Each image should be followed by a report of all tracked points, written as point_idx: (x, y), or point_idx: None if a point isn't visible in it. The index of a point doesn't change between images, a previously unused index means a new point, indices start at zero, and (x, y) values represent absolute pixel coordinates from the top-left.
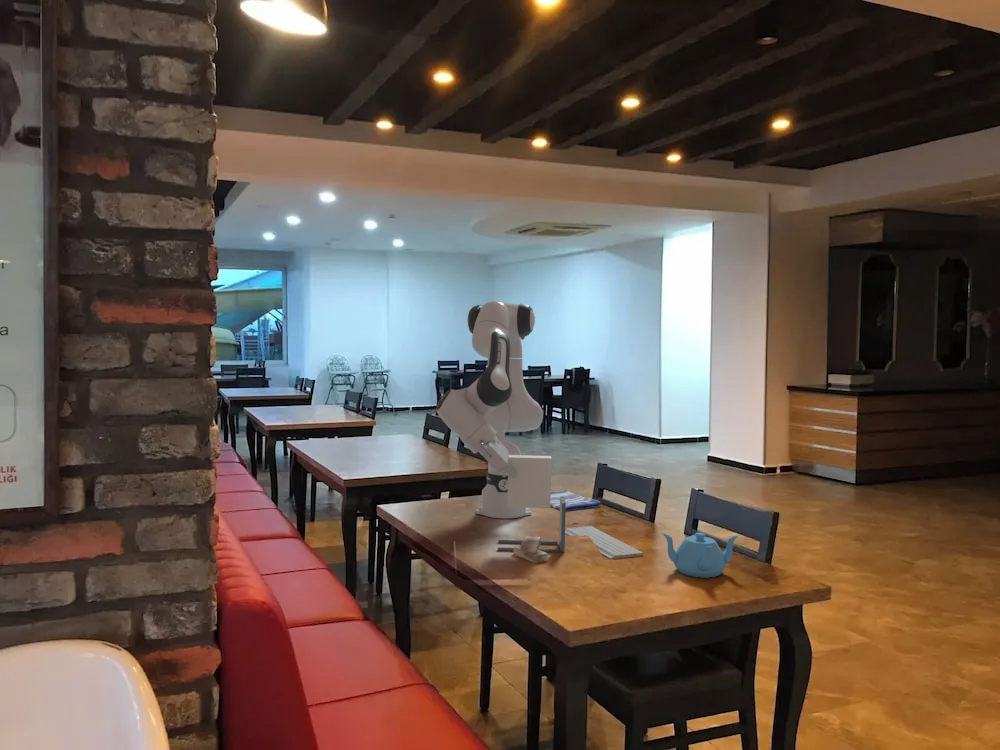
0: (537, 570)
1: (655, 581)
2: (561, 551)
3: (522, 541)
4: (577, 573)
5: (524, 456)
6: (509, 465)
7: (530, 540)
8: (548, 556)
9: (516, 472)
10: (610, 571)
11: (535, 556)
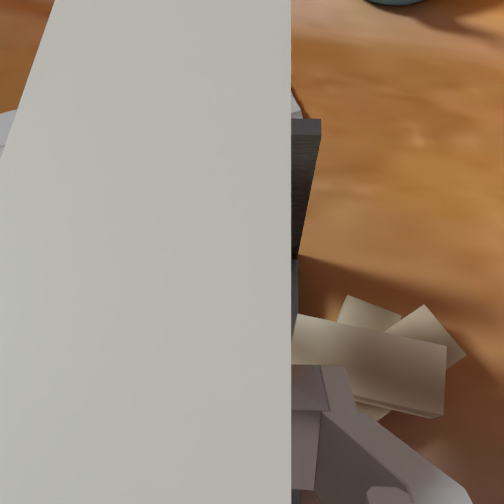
0: (476, 358)
1: (491, 60)
2: (297, 254)
3: None
4: (475, 231)
5: (143, 150)
6: (462, 492)
7: (358, 362)
8: (358, 305)
9: (323, 372)
10: (430, 142)
11: (465, 355)
